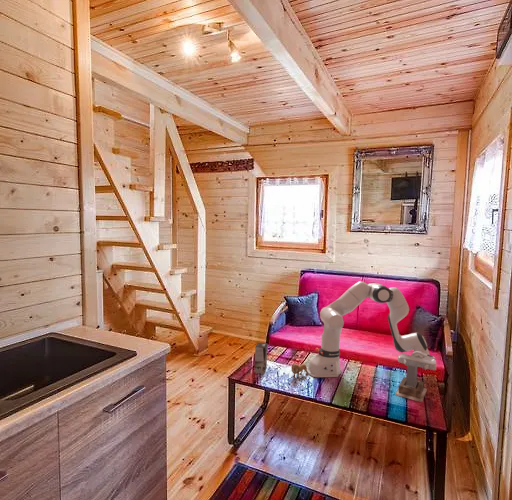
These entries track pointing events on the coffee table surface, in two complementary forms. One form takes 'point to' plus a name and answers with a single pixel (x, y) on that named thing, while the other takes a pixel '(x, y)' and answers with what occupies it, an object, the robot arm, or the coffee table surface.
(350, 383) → the coffee table surface
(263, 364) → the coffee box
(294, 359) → the coffee table surface
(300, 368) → the lion figurine
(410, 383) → the rail end
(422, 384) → the post block
